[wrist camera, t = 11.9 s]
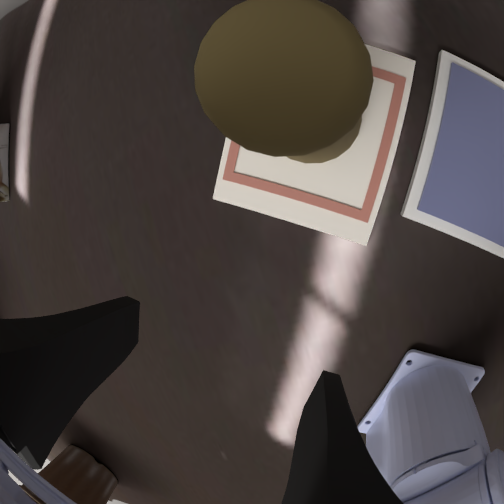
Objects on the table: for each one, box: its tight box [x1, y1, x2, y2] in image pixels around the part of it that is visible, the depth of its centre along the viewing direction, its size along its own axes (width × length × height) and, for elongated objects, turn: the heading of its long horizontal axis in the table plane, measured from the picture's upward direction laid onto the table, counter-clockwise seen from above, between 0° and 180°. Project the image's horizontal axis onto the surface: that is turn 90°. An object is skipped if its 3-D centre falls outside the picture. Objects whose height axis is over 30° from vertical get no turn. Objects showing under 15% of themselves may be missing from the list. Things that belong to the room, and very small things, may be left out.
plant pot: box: [19, 445, 118, 504], centre depth 36 cm, size 16×16×16 cm
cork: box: [194, 0, 374, 163], centre depth 11 cm, size 6×6×11 cm
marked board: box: [213, 44, 416, 246], centre depth 17 cm, size 12×10×1 cm
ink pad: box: [401, 50, 504, 258], centre depth 14 cm, size 11×9×1 cm
